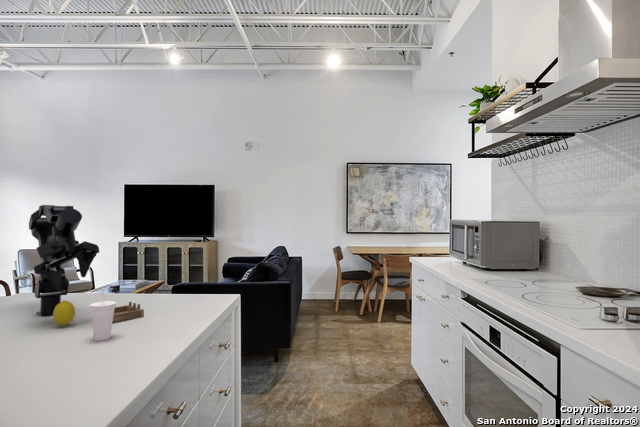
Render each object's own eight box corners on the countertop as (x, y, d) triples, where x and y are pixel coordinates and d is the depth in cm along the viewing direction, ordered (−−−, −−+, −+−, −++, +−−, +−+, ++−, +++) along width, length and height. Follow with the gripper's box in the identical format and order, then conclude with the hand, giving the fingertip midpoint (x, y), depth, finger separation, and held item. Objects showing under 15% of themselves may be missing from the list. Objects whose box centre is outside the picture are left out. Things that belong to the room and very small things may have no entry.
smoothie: (86, 343, 93) (88, 290, 93) (89, 336, 99) (91, 287, 99) (114, 340, 96) (116, 288, 96) (116, 333, 102) (117, 285, 102)
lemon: (63, 329, 105) (63, 302, 106) (47, 328, 107) (48, 301, 107) (79, 324, 111) (79, 299, 111) (64, 323, 112) (65, 298, 112)
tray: (94, 318, 118) (94, 306, 118) (128, 311, 127) (128, 300, 127) (109, 324, 111) (109, 311, 111) (143, 316, 120) (143, 305, 120)
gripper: (15, 246, 108) (18, 293, 102) (68, 219, 107) (74, 266, 101) (48, 253, 118) (53, 297, 112) (96, 229, 117) (104, 272, 111)
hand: (70, 283), depth 109 cm, fingers open, 9 cm apart
